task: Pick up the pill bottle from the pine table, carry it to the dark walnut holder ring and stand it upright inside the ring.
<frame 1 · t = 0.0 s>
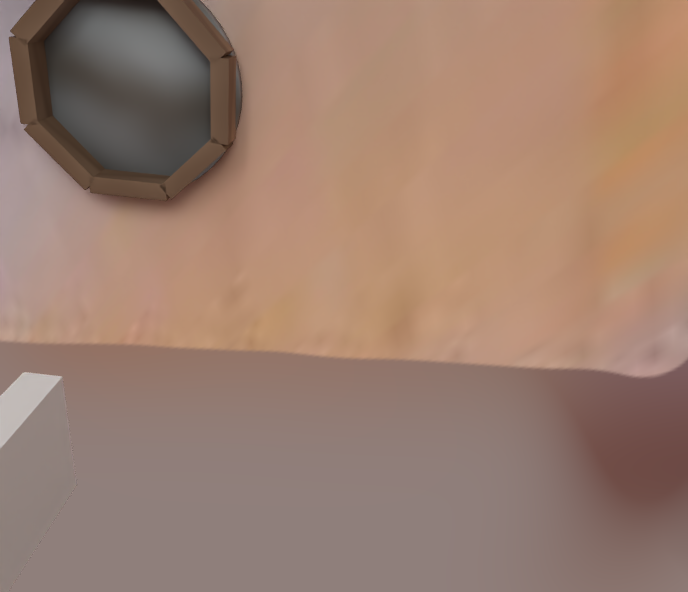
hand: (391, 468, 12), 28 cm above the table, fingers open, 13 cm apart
holder: (138, 86, 37), on the table
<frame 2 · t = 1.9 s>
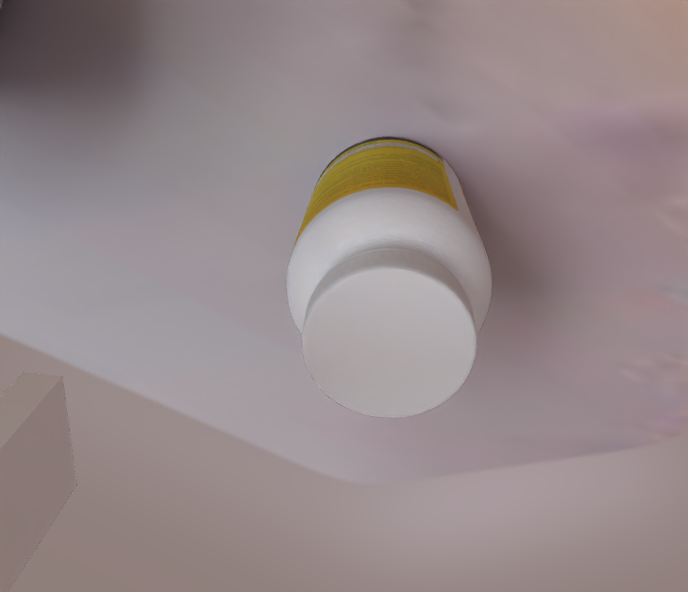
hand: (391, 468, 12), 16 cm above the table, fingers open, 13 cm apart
pill bottle: (387, 207, 27), on the table
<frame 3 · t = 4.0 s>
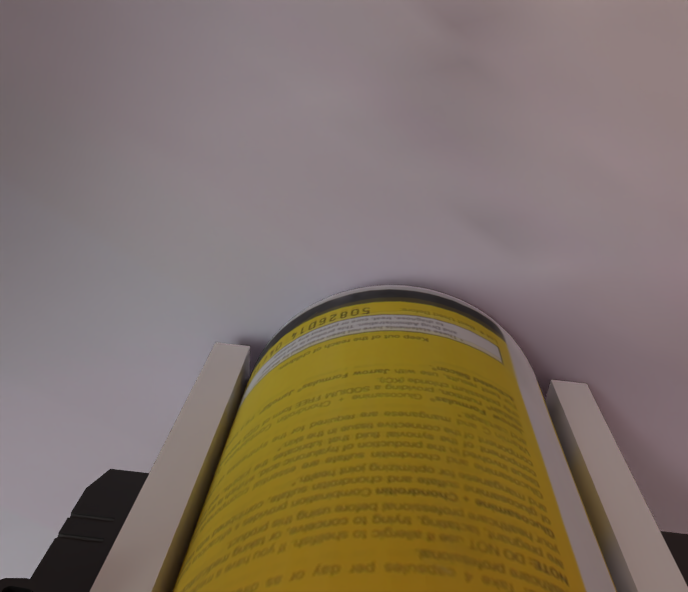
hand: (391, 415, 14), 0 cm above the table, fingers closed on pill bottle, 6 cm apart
pill bottle: (392, 396, 14), on the table, touching gripper
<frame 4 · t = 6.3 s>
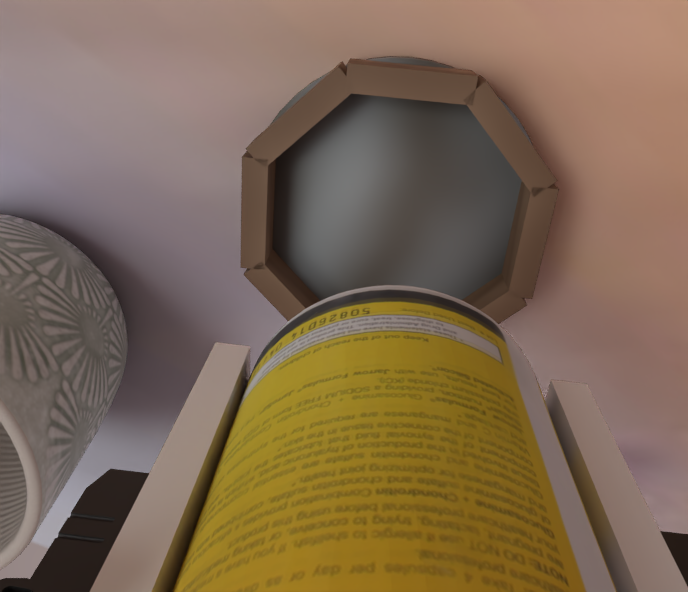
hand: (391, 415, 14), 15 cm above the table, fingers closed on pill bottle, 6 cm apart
planter: (30, 308, 31), on the table
holder: (392, 209, 27), on the table
pill bottle: (392, 396, 14), point 14 cm above the table, touching gripper
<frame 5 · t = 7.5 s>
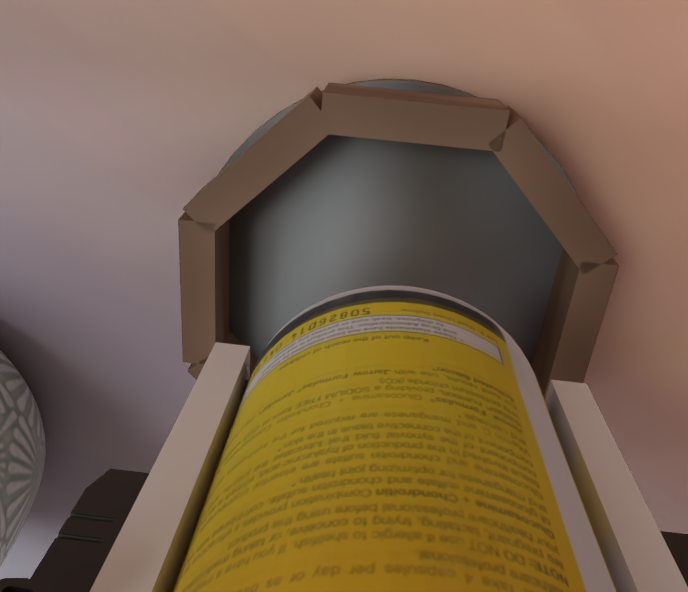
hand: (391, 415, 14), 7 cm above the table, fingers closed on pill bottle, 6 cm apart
holder: (387, 279, 20), on the table
pill bottle: (392, 397, 14), point 6 cm above the table, touching gripper
when the fingers open (3 cm above the table, at t = 8.6 s): pill bottle drops 2 cm, resting on holder.
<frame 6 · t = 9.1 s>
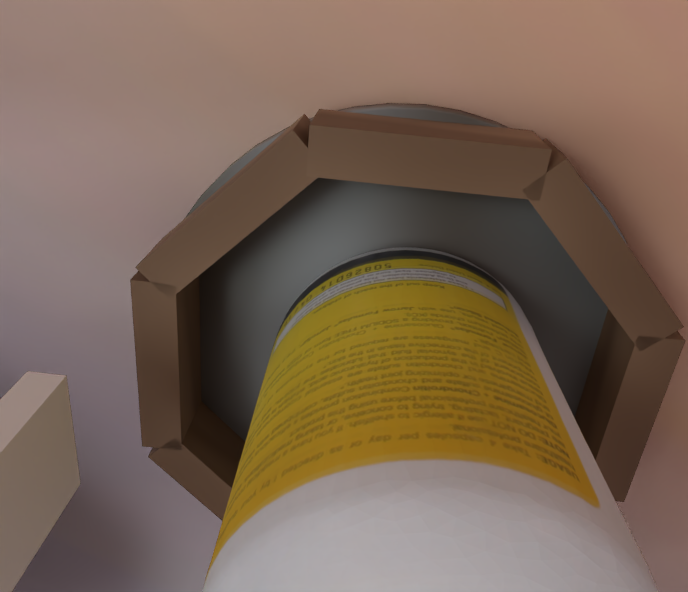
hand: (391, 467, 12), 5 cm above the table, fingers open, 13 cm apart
holder: (391, 341, 17), on the table
pill bottle: (402, 353, 16), point 1 cm above the table, touching holder
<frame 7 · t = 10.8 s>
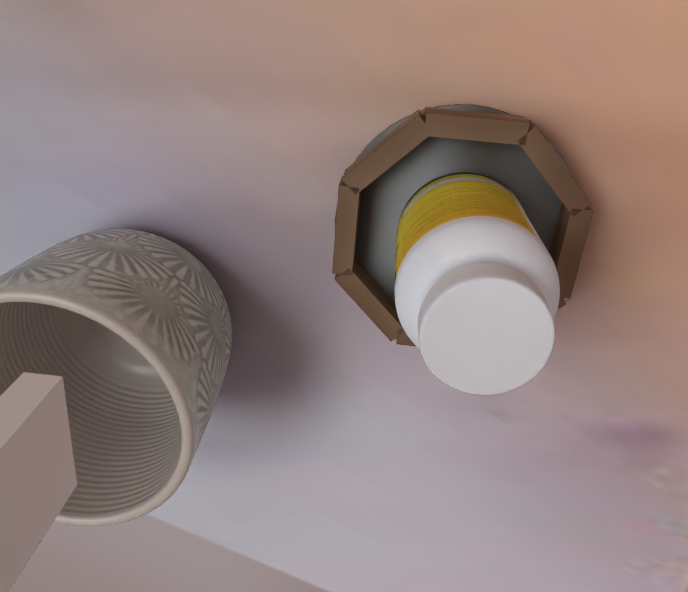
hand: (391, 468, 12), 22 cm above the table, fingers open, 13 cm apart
planter: (148, 307, 37), on the table
holder: (453, 226, 33), on the table
pill bottle: (459, 229, 32), point 1 cm above the table, touching holder
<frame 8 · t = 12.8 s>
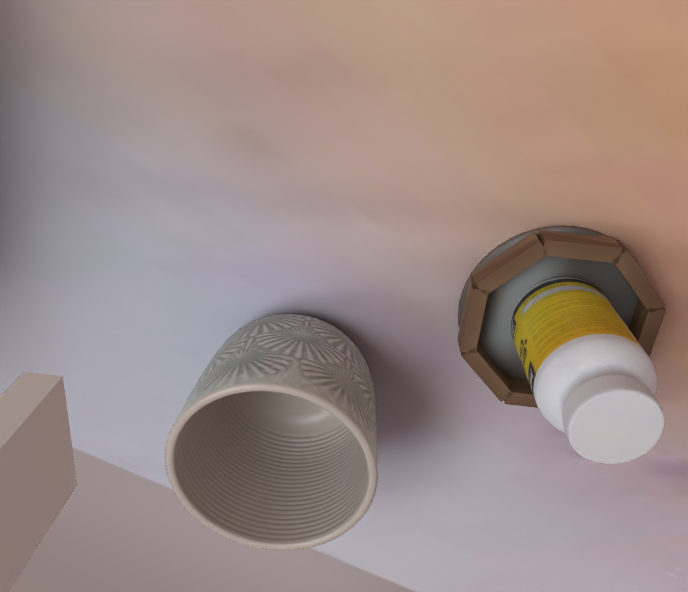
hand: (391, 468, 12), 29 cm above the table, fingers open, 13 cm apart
planter: (296, 369, 46), on the table
holder: (550, 312, 42), on the table
pill bottle: (557, 316, 42), point 1 cm above the table, touching holder
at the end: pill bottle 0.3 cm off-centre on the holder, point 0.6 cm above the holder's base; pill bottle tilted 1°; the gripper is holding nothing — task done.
